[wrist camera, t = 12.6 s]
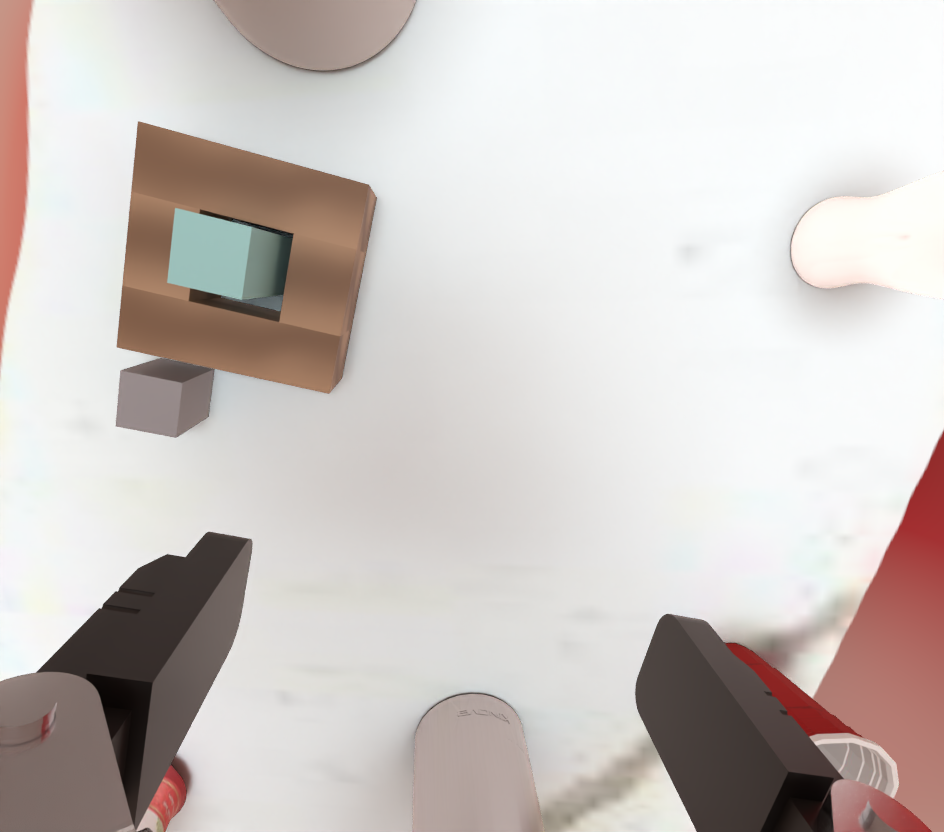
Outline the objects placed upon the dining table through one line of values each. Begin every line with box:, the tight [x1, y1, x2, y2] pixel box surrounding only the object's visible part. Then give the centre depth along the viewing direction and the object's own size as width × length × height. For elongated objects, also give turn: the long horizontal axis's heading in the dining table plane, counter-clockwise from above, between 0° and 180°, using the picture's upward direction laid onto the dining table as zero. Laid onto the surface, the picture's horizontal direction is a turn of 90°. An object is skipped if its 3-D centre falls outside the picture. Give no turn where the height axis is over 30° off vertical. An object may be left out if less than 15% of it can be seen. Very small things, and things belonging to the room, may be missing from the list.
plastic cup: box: [725, 643, 899, 799], centre depth 40 cm, size 11×11×12 cm
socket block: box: [117, 121, 377, 394], centre depth 32 cm, size 12×12×5 cm
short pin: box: [116, 358, 214, 438], centre depth 34 cm, size 3×3×5 cm
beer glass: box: [791, 171, 944, 300], centre depth 30 cm, size 7×7×15 cm
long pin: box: [167, 208, 293, 300], centre depth 30 cm, size 3×3×10 cm
